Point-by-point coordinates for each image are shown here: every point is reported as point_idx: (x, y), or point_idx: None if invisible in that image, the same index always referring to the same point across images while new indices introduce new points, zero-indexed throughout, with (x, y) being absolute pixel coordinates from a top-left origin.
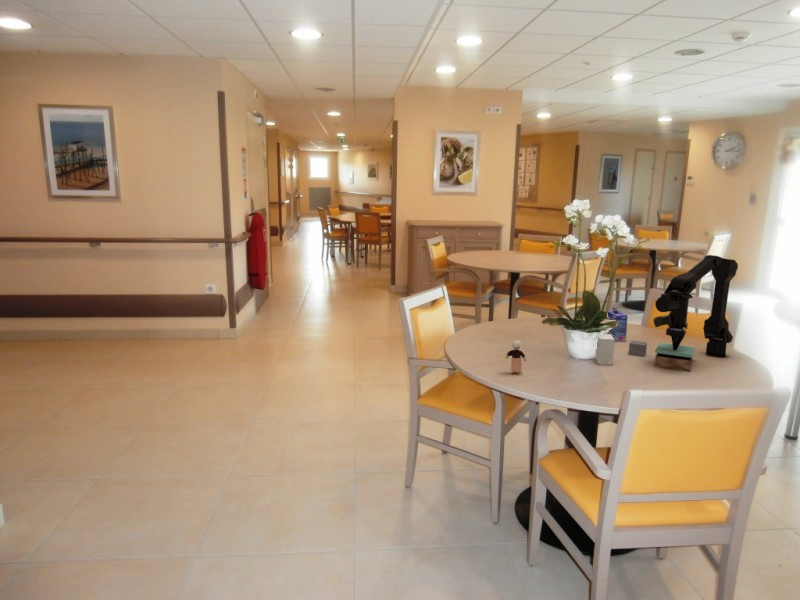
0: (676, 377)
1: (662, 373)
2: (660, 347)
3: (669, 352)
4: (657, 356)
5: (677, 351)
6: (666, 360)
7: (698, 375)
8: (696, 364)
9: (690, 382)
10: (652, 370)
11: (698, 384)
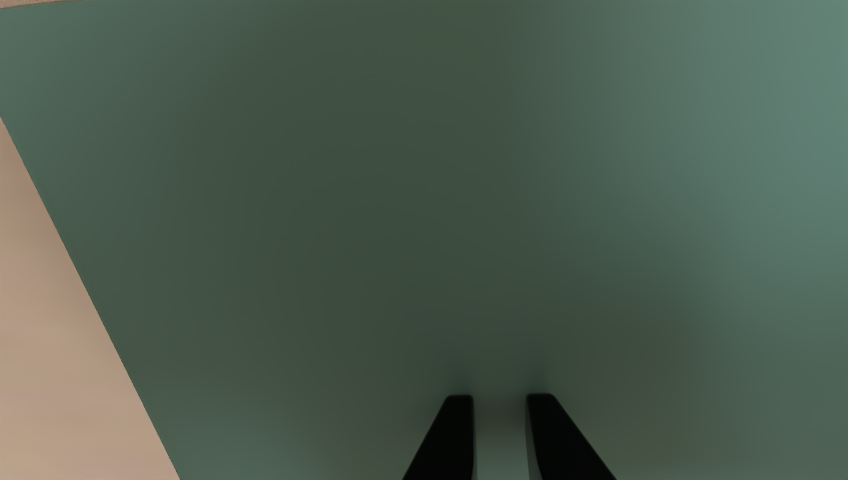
0: (21, 303)
1: (9, 157)
2: (527, 81)
3: (137, 350)
4: None
5: (308, 469)
6: None
7: None
8: None
9: (4, 407)
10: (3, 6)
11: (16, 452)
